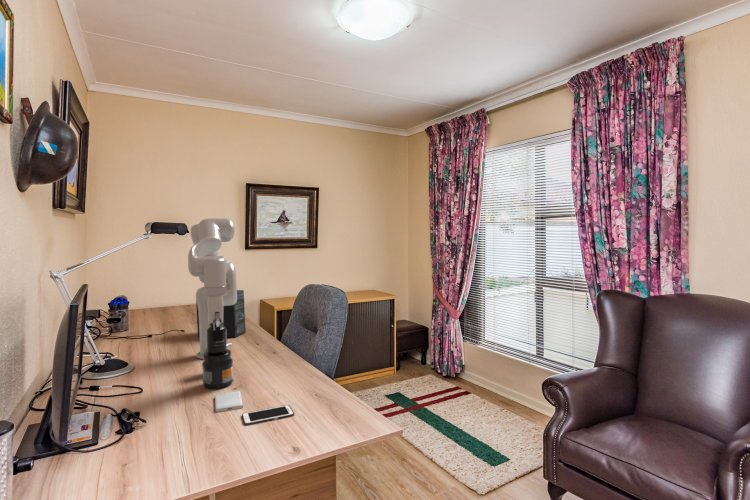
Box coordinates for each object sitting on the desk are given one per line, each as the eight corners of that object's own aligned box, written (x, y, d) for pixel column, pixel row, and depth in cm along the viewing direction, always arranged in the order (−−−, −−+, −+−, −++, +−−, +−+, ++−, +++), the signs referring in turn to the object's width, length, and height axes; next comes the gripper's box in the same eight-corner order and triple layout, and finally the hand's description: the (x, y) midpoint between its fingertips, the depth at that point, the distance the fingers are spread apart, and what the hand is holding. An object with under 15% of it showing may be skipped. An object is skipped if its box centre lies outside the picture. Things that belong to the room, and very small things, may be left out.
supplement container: (239, 381, 153) (238, 350, 153) (217, 391, 144) (216, 358, 143) (218, 377, 158) (217, 347, 157) (196, 387, 148) (195, 354, 148)
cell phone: (241, 416, 125) (241, 413, 125) (289, 407, 131) (289, 404, 131) (244, 427, 118) (244, 423, 118) (295, 416, 124) (295, 413, 124)
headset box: (196, 337, 221) (195, 289, 220) (209, 331, 233) (207, 286, 232) (235, 338, 218) (234, 289, 216) (246, 332, 229) (244, 286, 228)
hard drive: (214, 394, 139) (215, 408, 127) (240, 390, 142) (243, 404, 130) (215, 399, 139) (215, 414, 127) (240, 395, 142) (243, 409, 130)
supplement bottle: (220, 355, 147) (219, 321, 146) (203, 354, 148) (202, 321, 147) (230, 349, 153) (229, 318, 153) (214, 349, 155) (213, 317, 154)
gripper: (203, 289, 156) (204, 333, 156) (205, 295, 140) (206, 345, 141) (224, 287, 159) (225, 331, 160) (228, 293, 143) (230, 342, 144)
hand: (216, 337), depth 150 cm, fingers open, 9 cm apart
